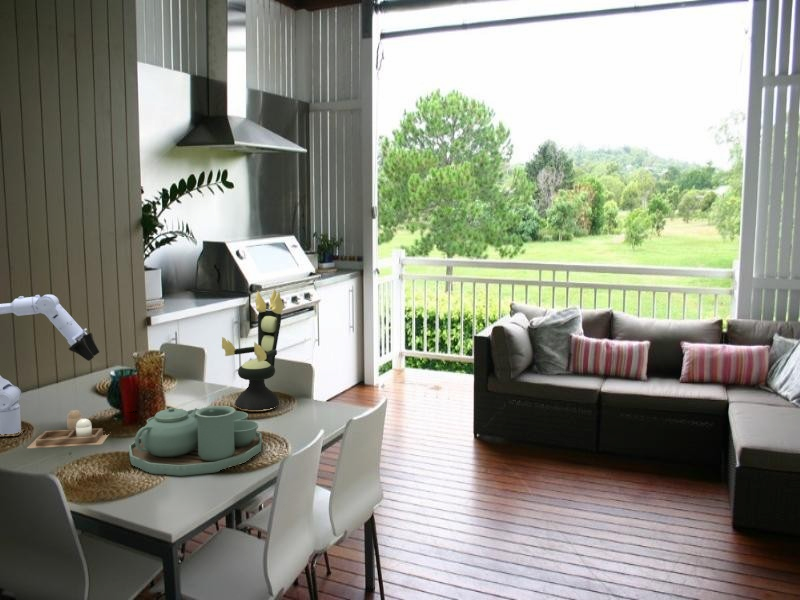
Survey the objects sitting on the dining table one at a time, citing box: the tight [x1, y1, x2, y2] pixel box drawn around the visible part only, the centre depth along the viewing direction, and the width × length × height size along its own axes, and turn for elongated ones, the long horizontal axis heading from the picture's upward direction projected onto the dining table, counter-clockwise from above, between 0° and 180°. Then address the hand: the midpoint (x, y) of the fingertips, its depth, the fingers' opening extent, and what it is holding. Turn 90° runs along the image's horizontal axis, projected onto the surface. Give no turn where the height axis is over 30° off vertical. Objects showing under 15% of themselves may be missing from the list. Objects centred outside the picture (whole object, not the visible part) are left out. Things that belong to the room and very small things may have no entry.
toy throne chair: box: [221, 288, 284, 410], centre depth 254 cm, size 19×22×45 cm
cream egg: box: [75, 418, 93, 437], centre depth 215 cm, size 5×5×7 cm
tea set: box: [128, 405, 263, 477], centre depth 205 cm, size 40×40×16 cm
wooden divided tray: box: [25, 427, 110, 449], centre depth 214 cm, size 22×13×2 cm, turn 101°
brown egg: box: [66, 409, 83, 430], centre depth 226 cm, size 5×5×7 cm
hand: (94, 356), depth 224 cm, fingers open, 7 cm apart
